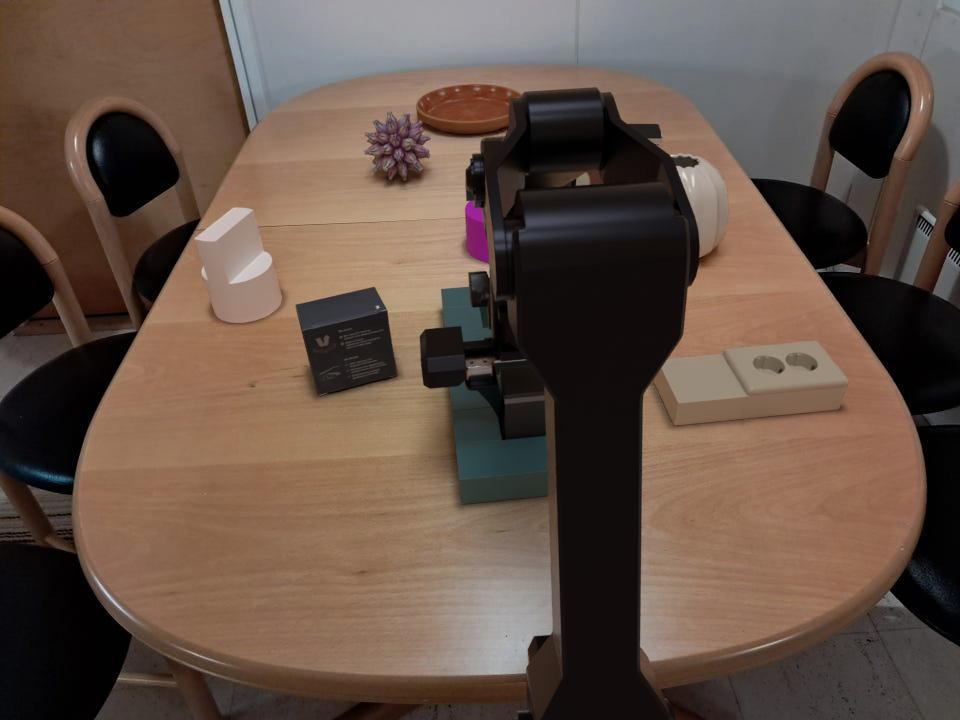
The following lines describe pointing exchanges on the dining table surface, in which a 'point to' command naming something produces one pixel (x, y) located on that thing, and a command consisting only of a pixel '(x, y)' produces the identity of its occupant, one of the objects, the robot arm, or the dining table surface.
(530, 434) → the block
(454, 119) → the saucer
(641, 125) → the smartphone
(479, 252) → the magenta slotted-back ring holder
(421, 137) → the flower
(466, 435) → the teal three-hole plate
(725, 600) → the dining table surface
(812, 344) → the electrical outlet
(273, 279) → the base with upright slab
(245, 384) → the dining table surface
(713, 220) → the vase
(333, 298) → the box
